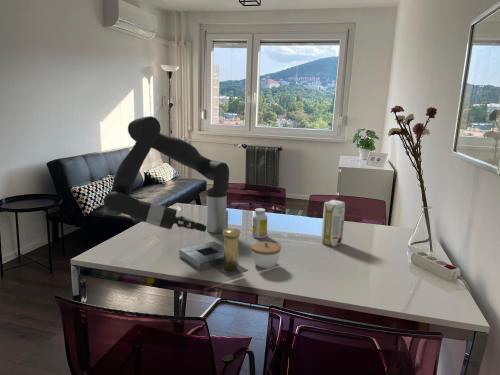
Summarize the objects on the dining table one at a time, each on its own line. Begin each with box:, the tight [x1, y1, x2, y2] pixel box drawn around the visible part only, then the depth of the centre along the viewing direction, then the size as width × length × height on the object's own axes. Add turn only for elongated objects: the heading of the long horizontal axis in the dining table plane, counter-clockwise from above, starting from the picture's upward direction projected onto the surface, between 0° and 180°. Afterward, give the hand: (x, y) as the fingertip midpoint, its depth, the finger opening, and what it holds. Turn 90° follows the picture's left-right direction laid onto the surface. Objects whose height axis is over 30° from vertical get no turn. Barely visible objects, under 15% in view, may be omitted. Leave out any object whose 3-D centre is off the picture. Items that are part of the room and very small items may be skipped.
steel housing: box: [178, 240, 224, 272], centre depth 146 cm, size 16×16×4 cm
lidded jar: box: [251, 241, 282, 270], centre depth 141 cm, size 11×11×9 cm
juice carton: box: [321, 199, 346, 247], centre depth 166 cm, size 8×9×19 cm
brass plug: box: [222, 227, 241, 272], centre depth 136 cm, size 6×6×14 cm
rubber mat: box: [213, 264, 249, 278], centre depth 138 cm, size 9×9×1 cm
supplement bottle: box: [252, 207, 268, 239], centre depth 173 cm, size 7×7×13 cm
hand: (204, 228), depth 139 cm, fingers open, 8 cm apart
